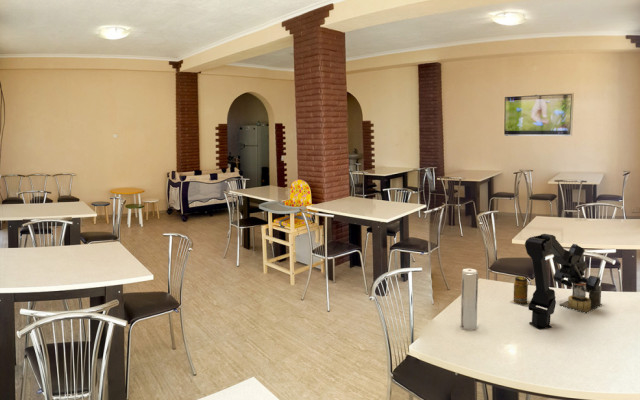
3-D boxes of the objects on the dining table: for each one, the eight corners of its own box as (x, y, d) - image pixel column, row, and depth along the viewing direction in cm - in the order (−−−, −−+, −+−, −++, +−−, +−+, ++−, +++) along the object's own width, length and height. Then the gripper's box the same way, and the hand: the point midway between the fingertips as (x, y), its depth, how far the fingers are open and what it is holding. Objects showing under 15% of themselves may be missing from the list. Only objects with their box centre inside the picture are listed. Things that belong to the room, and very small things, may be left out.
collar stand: (586, 313, 208) (587, 292, 207) (559, 305, 218) (560, 285, 217) (601, 305, 217) (602, 285, 216) (575, 298, 227) (576, 279, 225)
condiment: (517, 298, 229) (518, 274, 227) (534, 303, 222) (535, 278, 221) (509, 302, 224) (510, 278, 223) (526, 306, 218) (527, 282, 216)
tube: (581, 307, 213) (582, 283, 212) (571, 304, 217) (572, 280, 216) (587, 305, 216) (588, 281, 214) (577, 302, 220) (578, 278, 218)
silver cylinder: (477, 330, 194) (479, 272, 190) (461, 329, 195) (462, 272, 191) (475, 324, 200) (477, 267, 196) (460, 323, 201) (461, 267, 198)
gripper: (600, 260, 203) (609, 279, 211) (557, 251, 218) (568, 270, 226) (590, 281, 200) (600, 300, 208) (547, 271, 215) (558, 289, 223)
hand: (581, 288), depth 216 cm, fingers open, 9 cm apart
